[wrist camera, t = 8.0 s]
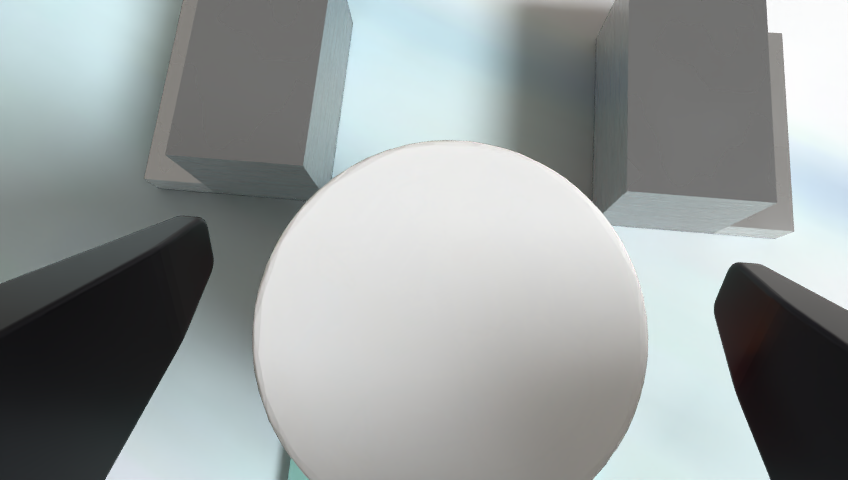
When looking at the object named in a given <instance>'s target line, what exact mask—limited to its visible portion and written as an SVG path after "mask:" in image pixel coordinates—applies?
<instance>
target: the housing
mask: <svg viewBox="0 0 848 480" xmlns="http://www.w3.org/2000/svg"><path fill="white" fill-rule="evenodd" d="M352 26H353V22H352V18H351V14H350V10H349V6H348V2H347V0H183V3H182V8H181V12H180V17H179V21H178V26H177V30H176V35H175V40H174V44H173V49H172V53H171V58H170V62H169V67H168V71H167V76H166V80H165V85H164V90H163V94H162V99H161V103H160V108H159V112H158V117H157V121H156V126H155V130H154V135H153V140H152V144H151V149H150V153H149V158H148V162H147V167H146V171H145V176H144V179H145V180H147V181H148V182H150V183H151V184H153V185H155V186H156V187H158V188H161V189H173V190H185V191H198V192H210V193H222V194H234V195H247V196H259V197H271V198H283V199H295V200H309V199H310V198H311V197H312V196H313V195H314V194H315V193H316V192H317V191H318V190H319V189H320V188H322V187H323V186H324V185H325V184H327V183H328V182H329V181H330V180H331V178H332V171H333V163H334V156H335V149H336V142H337V134H338V127H339V120H340V113H341V106H342V98H343V91H344V84H345V77H346V69H347V62H348V55H349V48H350V41H351V33H352ZM592 203H593V204H594V205H595V206H596V207H597V208H598V209H599V210H600V211H601V212H602V214H603V215H604V216H605V217H606V219H607V220H608V221H609V223H610V224H611V225H613V226H625V227H638V228H650V229H662V230H674V231H686V232H699V233H711V234H723V235H735V236H747V237H760V238H772V239H775V238H778V237H781V236H783V235H786V234H789V233H791V232H794V222H793V206H792V189H791V173H790V157H789V140H788V124H787V108H786V91H785V75H784V59H783V42H782V33H768V26H767V8H766V0H615V1H614V4H613V6H612V8H611V10H610V12H609V14H608V16H607V18H606V20H605V22H604V24H603V26H602V28H601V31H600V33H599V35H598V37H597V39H596V74H595V114H594V154H593V195H592Z"/></svg>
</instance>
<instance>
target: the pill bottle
mask: <svg viewBox="0 0 848 480" xmlns="http://www.w3.org/2000/svg"><path fill="white" fill-rule="evenodd" d="M252 348H253V361H254V371H255V376H256V380H257V385H258V389H259V393H260V396H261V399H262V402H263V405H264V408H265V410H266V413H267V416H268V419H269V422H270V423H271V425H272V427H273V429H274V431H275V433H276V435H277V437H278V438H279V440H280V442H281V444H282V445H283V447H284V449H285V450H286V452H287V453H288V455H289V456H290V457H291V458H292V460H293V461H294V462H295V464H296V465H297V466H298V467H299V469H300V470H301V471H302V472H303V474H304V475H305V476H306V477H307V478H308V479H309V480H593V479H594V477H595V476H596V475H597V474H598V473H599V472H600V471H601V470H602V468H603V467H604V466H605V465H606V463H607V462H608V460H609V459H610V457H611V456H612V454H613V453H614V452H615V450H616V449H617V448H618V446H619V444H620V443H621V441H622V439H623V437H624V436H625V434H626V432H627V430H628V428H629V426H630V423H631V421H632V419H633V417H634V414H635V411H636V408H637V405H638V402H639V399H640V395H641V391H642V388H643V384H644V378H645V372H646V366H647V357H648V328H647V316H646V311H645V306H644V297H643V294H642V290H641V287H640V283H639V280H638V277H637V274H636V271H635V268H634V266H633V264H632V262H631V260H630V257H629V255H628V253H627V251H626V249H625V247H624V245H623V243H622V241H621V239H620V238H619V236H618V235H617V233H616V231H615V230H614V228H613V227H612V225H611V224H610V223H609V221H608V220H607V219H606V217H605V216H604V215H603V214H602V212H601V211H600V210H599V209H598V208H597V207H596V206H595V205H594V204H593V203H592V202H591V200H590V199H589V198H588V197H587V196H585V195H584V194H583V193H582V192H581V191H580V190H579V189H578V188H577V187H576V186H574V185H573V184H572V183H571V182H570V181H568V180H567V179H566V178H564V177H563V176H561V175H560V174H558V173H557V172H555V171H554V170H552V169H550V168H548V167H547V166H545V165H543V164H541V163H539V162H537V161H535V160H533V159H531V158H529V157H527V156H524V155H522V154H520V153H517V152H514V151H511V150H508V149H505V148H501V147H497V146H492V145H488V144H483V143H478V142H471V141H452V140H442V141H427V142H420V143H414V144H408V145H405V146H401V147H397V148H394V149H390V150H386V151H384V152H381V153H379V154H376V155H374V156H371V157H368V158H366V159H364V160H363V161H361V162H359V163H357V164H355V165H353V166H351V167H350V168H348V169H347V170H345V171H344V172H342V173H341V174H339V175H338V176H336V177H334V178H333V179H332V180H330V181H329V182H328V183H327V184H325V185H324V186H323V187H322V188H320V189H319V190H318V191H317V192H316V193H315V194H314V195H313V196H312V197H311V198H310V199H309V200H308V201H307V202H306V203H305V204H304V205H303V206H302V207H301V209H300V210H299V211H298V212H297V213H296V215H295V216H294V217H293V219H292V220H291V222H290V223H289V224H288V226H287V227H286V229H285V230H284V232H283V233H282V235H281V237H280V238H279V240H278V242H277V244H276V246H275V248H274V250H273V252H272V254H271V256H270V258H269V261H268V263H267V265H266V268H265V271H264V274H263V277H262V280H261V283H260V286H259V290H258V295H257V299H256V305H255V311H254V320H253V332H252Z"/></svg>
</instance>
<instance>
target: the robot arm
mask: <svg viewBox="0 0 848 480" xmlns="http://www.w3.org/2000/svg"><path fill="white" fill-rule="evenodd" d="M213 262H214V260H213V252H212V247H211V242H210V237H209V232H208V227H207V224H206V222H205V220H203V219H202V218H200V217H191V216H177V217H175V218H172V219H169V220H167V221H164V222H162V223H159V224H156V225H154V226H151V227H148V228H146V229H143V230H140V231H138V232H135V233H133V234H130V235H127V236H125V237H122V238H119V239H117V240H114V241H112V242H109V243H106V244H104V245H101V246H98V247H96V248H93V249H90V250H88V251H85V252H83V253H80V254H77V255H75V256H72V257H69V258H67V259H64V260H62V261H59V262H56V263H54V264H51V265H48V266H46V267H43V268H41V269H38V270H35V271H33V272H30V273H27V274H25V275H22V276H19V277H17V278H14V279H12V280H9V281H6V282H4V283H1V284H0V480H105V479H106V477H107V475H108V474H109V472H110V470H111V468H112V466H113V465H114V463H115V461H116V459H117V457H118V456H119V454H120V452H121V450H122V449H123V447H124V445H125V443H126V441H127V440H128V438H129V436H130V434H131V432H132V431H133V429H134V427H135V425H136V423H137V422H138V420H139V418H140V416H141V415H142V413H143V411H144V409H145V407H146V406H147V404H148V402H149V400H150V398H151V397H152V395H153V393H154V391H155V390H156V388H157V386H158V384H159V382H160V381H161V379H162V377H163V375H164V373H165V372H166V370H167V368H168V366H169V365H170V363H171V361H172V359H173V357H174V356H175V354H176V352H177V350H178V348H179V346H180V344H181V343H182V341H183V339H184V336H185V334H186V332H187V330H188V328H189V325H190V323H191V320H192V318H193V315H194V313H195V311H196V308H197V306H198V303H199V301H200V298H201V296H202V294H203V291H204V289H205V286H206V284H207V282H208V279H209V277H210V274H211V272H212V269H213ZM714 315H715V319H716V323H717V327H718V330H719V334H720V338H721V341H722V345H723V349H724V353H725V356H726V360H727V364H728V367H729V371H730V375H731V378H732V382H733V385H734V388H735V391H736V394H737V397H738V400H739V402H740V405H741V408H742V410H743V413H744V415H745V418H746V420H747V422H748V425H749V427H750V430H751V432H752V435H753V437H754V440H755V442H756V445H757V447H758V450H759V452H760V455H761V457H762V460H763V462H764V465H765V467H766V470H767V472H768V475H769V477H770V480H848V310H846V309H844V308H842V307H840V306H838V305H836V304H835V303H833V302H831V301H829V300H827V299H825V298H823V297H821V296H820V295H818V294H816V293H814V292H812V291H810V290H808V289H806V288H805V287H803V286H801V285H799V284H797V283H795V282H793V281H792V280H790V279H788V278H786V277H784V276H782V275H780V274H778V273H777V272H775V271H773V270H771V269H769V268H767V267H765V266H763V265H761V264H753V263H741V262H738V263H735V264H733V265H732V266H731V267H730V268H729V270H728V272H727V274H726V276H725V279H724V281H723V284H722V286H721V288H720V291H719V293H718V295H717V298H716V300H715V304H714Z"/></svg>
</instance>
